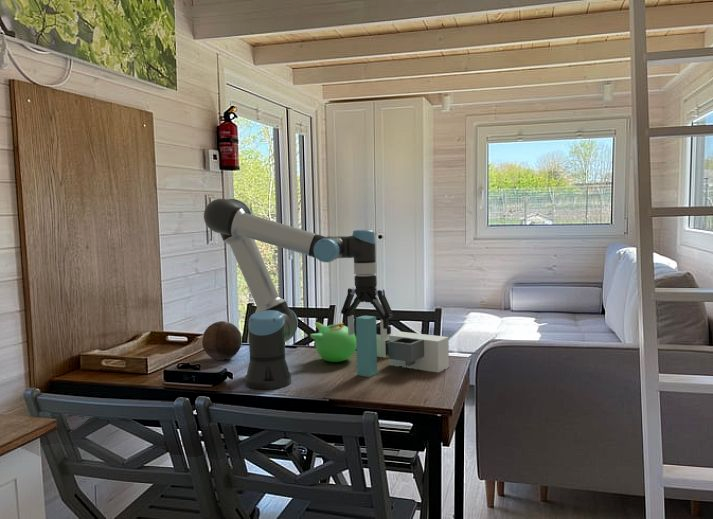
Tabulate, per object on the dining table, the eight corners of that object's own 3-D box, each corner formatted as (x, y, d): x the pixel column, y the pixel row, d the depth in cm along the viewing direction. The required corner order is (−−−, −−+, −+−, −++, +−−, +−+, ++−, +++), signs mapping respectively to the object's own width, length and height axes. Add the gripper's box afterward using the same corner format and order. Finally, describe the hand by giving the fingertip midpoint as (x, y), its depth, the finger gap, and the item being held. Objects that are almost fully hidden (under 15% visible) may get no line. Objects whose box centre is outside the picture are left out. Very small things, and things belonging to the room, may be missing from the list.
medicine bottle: (386, 358, 225) (385, 327, 224) (370, 355, 229) (370, 325, 228) (396, 354, 231) (395, 324, 230) (381, 352, 235) (380, 322, 234)
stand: (389, 364, 215) (389, 335, 214) (400, 360, 221) (400, 331, 220) (438, 372, 203) (438, 341, 202) (448, 367, 210) (448, 337, 209)
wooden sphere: (247, 355, 234) (246, 318, 233) (234, 364, 220) (233, 325, 218) (211, 354, 237) (210, 318, 235) (196, 364, 222) (194, 325, 221)
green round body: (356, 366, 213) (355, 326, 212) (310, 367, 214) (309, 327, 213) (357, 354, 231) (356, 318, 230) (315, 355, 232) (314, 318, 231)
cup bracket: (389, 367, 204) (388, 341, 203) (402, 361, 211) (401, 336, 211) (411, 370, 199) (411, 344, 198) (424, 364, 206) (424, 339, 206)
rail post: (357, 374, 202) (355, 317, 201) (365, 371, 207) (364, 315, 205) (369, 377, 200) (367, 319, 198) (377, 373, 204) (376, 316, 202)
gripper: (402, 274, 196) (404, 337, 198) (342, 272, 211) (344, 331, 212) (390, 277, 190) (392, 341, 192) (329, 274, 205) (332, 334, 206)
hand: (367, 336), depth 202 cm, fingers open, 13 cm apart
